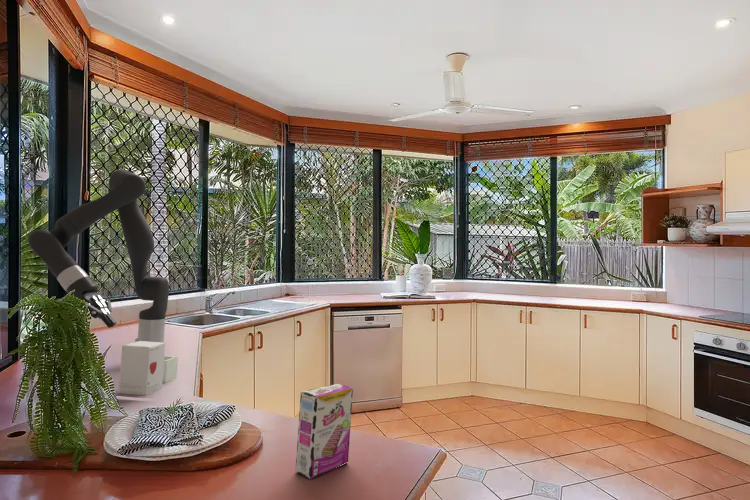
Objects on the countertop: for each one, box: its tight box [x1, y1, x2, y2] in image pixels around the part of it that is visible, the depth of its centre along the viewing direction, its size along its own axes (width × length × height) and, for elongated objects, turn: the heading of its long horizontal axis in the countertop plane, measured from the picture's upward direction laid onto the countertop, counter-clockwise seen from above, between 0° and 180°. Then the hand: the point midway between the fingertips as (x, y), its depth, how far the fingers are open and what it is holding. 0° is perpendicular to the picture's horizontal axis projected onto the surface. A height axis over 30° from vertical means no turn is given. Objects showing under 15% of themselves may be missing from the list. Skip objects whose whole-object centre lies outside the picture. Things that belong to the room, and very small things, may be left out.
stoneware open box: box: [162, 355, 179, 384], centre depth 160 cm, size 7×7×8 cm
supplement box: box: [118, 341, 166, 399], centre depth 146 cm, size 9×9×15 cm
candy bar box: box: [295, 383, 354, 480], centre depth 100 cm, size 11×5×16 cm, turn 141°
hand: (113, 325), depth 148 cm, fingers closed
